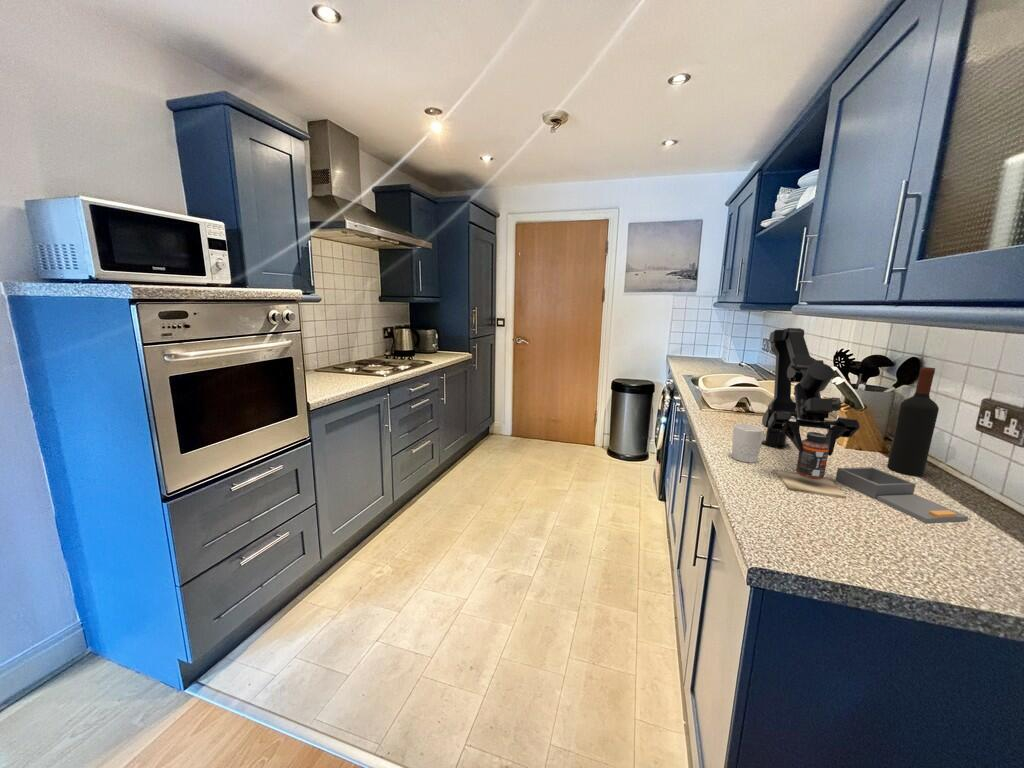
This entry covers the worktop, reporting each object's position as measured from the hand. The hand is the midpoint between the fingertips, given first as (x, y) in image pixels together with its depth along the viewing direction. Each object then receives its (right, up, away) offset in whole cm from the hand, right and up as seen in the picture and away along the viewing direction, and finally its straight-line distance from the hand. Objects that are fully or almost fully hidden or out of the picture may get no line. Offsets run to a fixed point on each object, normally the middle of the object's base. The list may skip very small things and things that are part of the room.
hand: (815, 453), depth 102 cm
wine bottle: (+36, -8, +13) cm, 39 cm away
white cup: (-7, -5, +20) cm, 22 cm away
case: (+16, -10, -4) cm, 20 cm away
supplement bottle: (0, -6, +3) cm, 7 cm away
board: (0, -9, +3) cm, 9 cm away
